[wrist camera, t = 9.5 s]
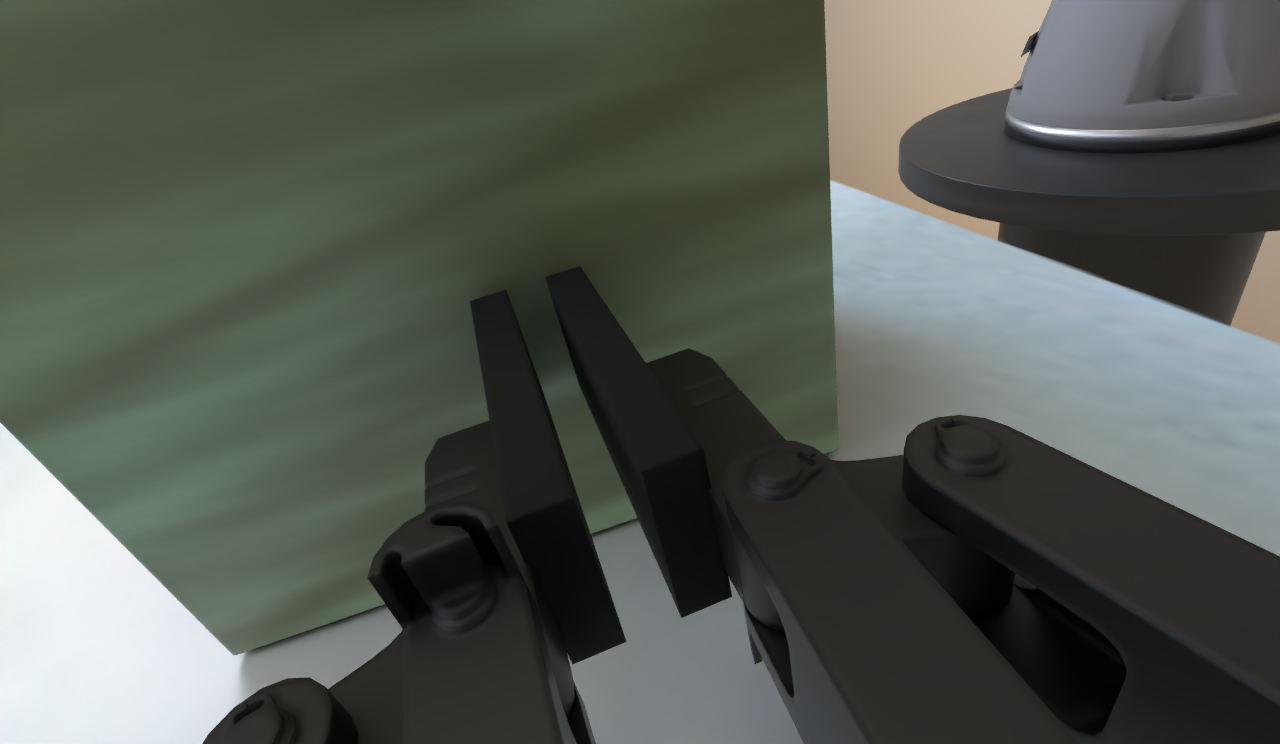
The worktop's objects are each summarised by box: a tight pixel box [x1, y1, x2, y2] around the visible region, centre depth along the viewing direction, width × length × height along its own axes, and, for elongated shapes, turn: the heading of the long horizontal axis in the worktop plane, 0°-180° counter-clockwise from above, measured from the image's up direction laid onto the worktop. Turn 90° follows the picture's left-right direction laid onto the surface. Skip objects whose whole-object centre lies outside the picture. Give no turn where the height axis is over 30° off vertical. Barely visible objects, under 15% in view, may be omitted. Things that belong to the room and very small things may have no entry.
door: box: [0, 0, 838, 655], centre depth 9 cm, size 6×17×19 cm, turn 104°
